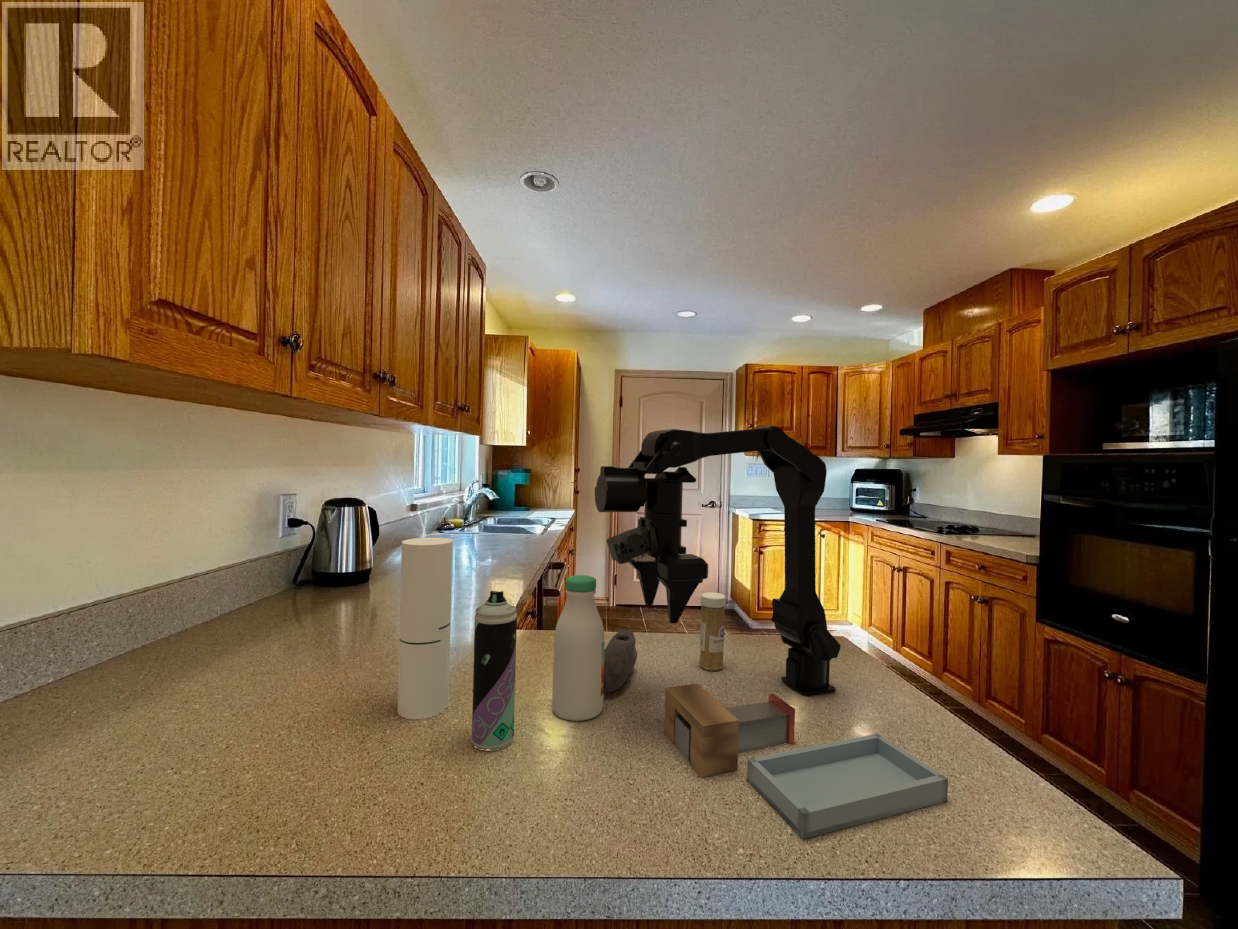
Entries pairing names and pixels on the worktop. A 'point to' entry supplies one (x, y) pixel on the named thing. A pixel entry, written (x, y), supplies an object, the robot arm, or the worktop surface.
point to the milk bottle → (578, 654)
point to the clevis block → (704, 729)
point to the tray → (844, 784)
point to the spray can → (494, 673)
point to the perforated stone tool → (619, 659)
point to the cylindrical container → (424, 627)
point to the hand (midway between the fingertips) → (660, 613)
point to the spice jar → (712, 631)
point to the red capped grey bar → (750, 726)
